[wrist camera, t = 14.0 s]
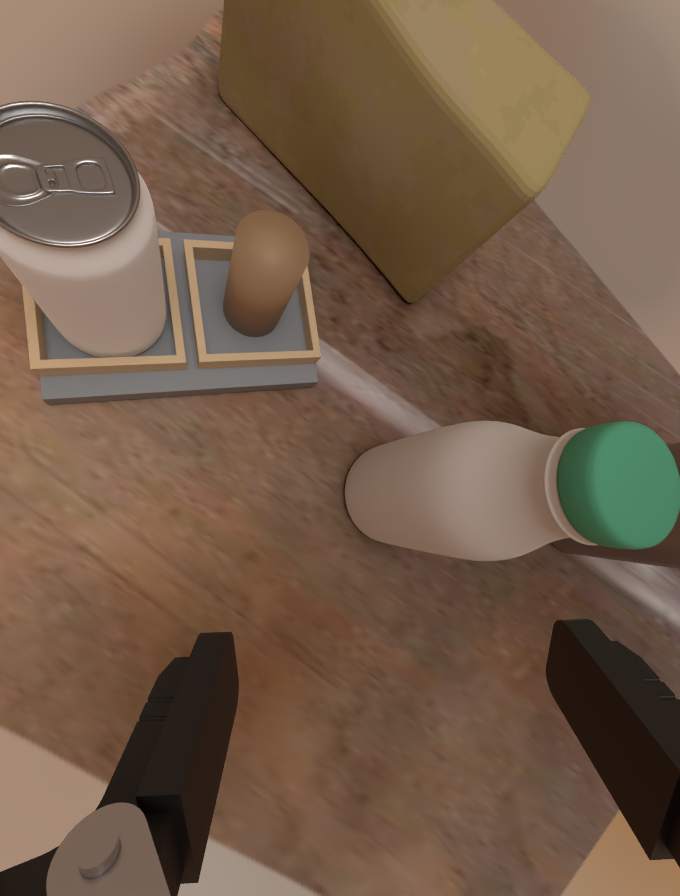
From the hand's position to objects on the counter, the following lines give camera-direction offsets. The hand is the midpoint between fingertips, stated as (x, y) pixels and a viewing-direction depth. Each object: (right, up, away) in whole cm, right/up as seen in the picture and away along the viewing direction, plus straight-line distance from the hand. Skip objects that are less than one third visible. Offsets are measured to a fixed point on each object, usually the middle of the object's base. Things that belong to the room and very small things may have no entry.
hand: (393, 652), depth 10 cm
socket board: (-12, +14, +19) cm, 27 cm away
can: (-16, +14, +16) cm, 26 cm away
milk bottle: (+2, +2, +23) cm, 23 cm away
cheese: (-2, +27, +25) cm, 37 cm away
